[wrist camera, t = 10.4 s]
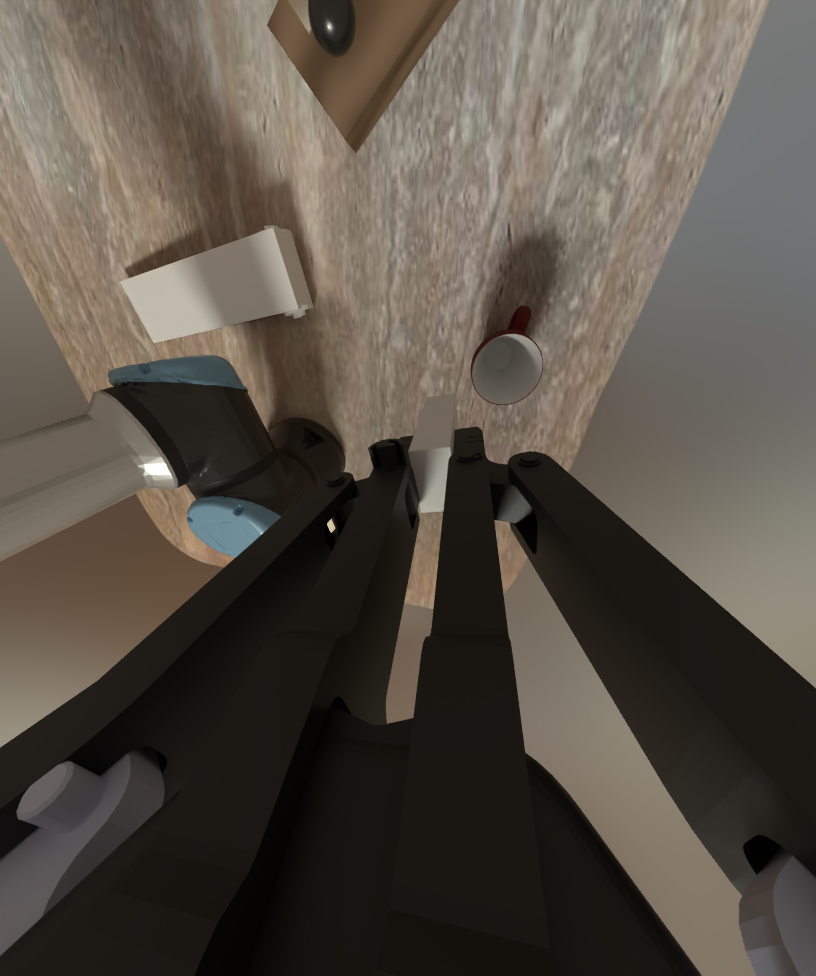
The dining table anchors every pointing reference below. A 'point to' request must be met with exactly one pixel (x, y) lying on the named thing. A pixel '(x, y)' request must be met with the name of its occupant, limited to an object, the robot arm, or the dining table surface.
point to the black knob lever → (333, 25)
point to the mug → (507, 363)
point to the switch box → (360, 56)
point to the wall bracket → (222, 286)
